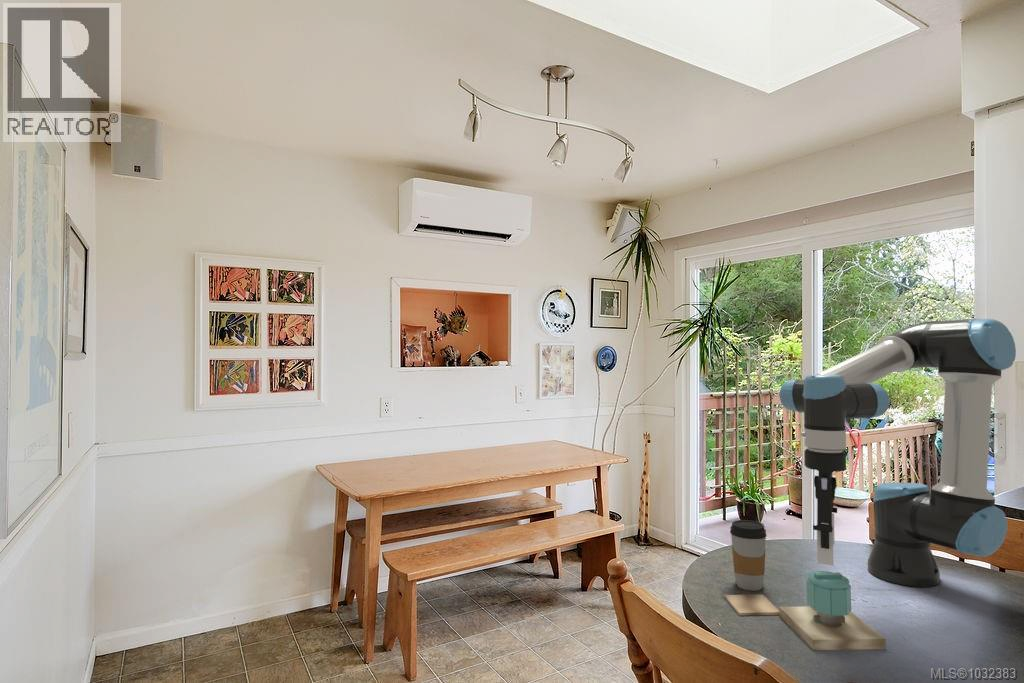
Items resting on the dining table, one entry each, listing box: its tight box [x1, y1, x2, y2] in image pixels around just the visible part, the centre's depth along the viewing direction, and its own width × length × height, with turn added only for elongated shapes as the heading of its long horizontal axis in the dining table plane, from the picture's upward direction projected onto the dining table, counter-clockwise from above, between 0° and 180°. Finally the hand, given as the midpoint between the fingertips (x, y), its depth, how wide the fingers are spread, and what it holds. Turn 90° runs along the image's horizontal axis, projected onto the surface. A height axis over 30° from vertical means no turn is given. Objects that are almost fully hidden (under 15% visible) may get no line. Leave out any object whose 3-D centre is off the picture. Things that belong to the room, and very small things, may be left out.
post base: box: [778, 605, 887, 651], centre depth 116 cm, size 14×14×10 cm
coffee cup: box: [729, 519, 767, 591], centre depth 139 cm, size 8×8×15 cm
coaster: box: [724, 594, 780, 616], centre depth 128 cm, size 9×9×1 cm
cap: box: [806, 570, 852, 616], centre depth 116 cm, size 7×7×7 cm
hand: (826, 553), depth 116 cm, fingers open, 13 cm apart
